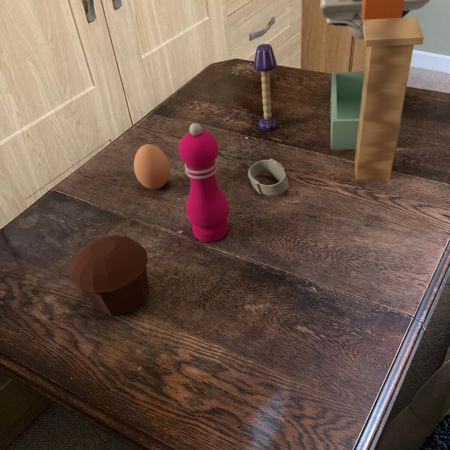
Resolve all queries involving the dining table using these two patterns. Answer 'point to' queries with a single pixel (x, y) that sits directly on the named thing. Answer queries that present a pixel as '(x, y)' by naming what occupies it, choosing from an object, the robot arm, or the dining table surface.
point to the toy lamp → (265, 83)
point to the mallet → (382, 9)
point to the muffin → (112, 273)
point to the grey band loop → (274, 169)
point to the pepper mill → (203, 185)
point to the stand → (383, 93)
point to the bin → (346, 108)
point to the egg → (151, 166)
